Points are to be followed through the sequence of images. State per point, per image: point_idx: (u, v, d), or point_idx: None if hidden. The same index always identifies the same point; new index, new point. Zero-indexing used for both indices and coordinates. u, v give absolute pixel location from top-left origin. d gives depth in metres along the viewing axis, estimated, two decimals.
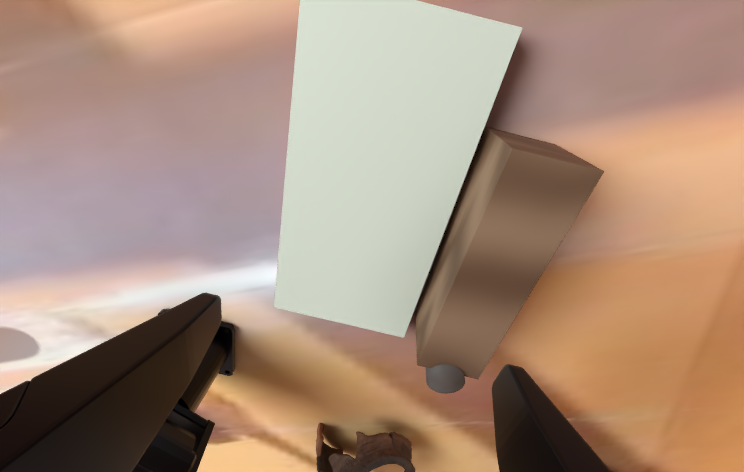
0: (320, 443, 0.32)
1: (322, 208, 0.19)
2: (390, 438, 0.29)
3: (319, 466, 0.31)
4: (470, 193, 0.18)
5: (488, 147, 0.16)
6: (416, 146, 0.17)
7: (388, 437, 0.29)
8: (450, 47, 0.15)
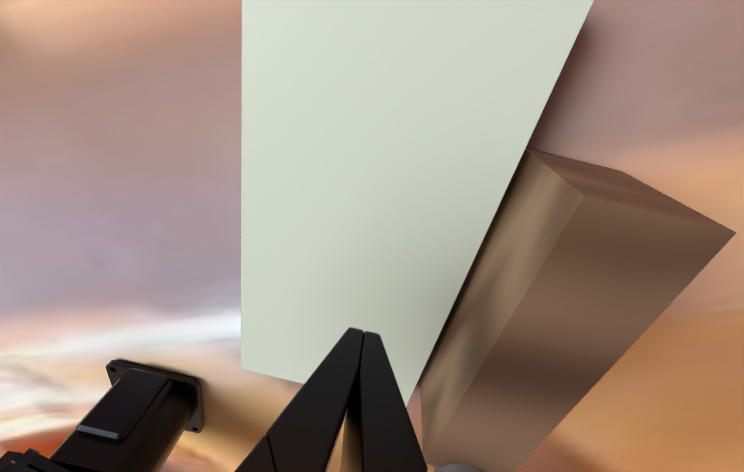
0: None
1: (294, 255, 0.14)
2: None
3: None
4: (499, 241, 0.12)
5: (529, 179, 0.11)
6: (423, 176, 0.12)
7: None
8: (477, 29, 0.09)
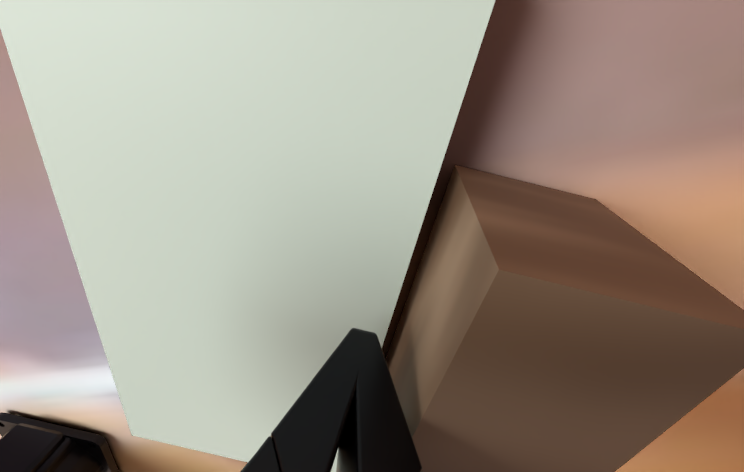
0: None
1: (157, 308, 0.11)
2: None
3: None
4: (421, 298, 0.09)
5: (453, 215, 0.07)
6: (302, 208, 0.08)
7: None
8: None
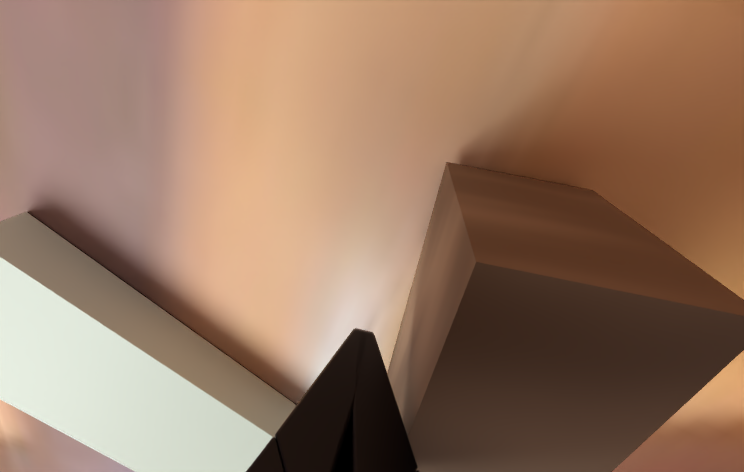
0: None
1: (157, 461, 0.16)
2: None
3: None
4: (419, 296, 0.09)
5: (444, 212, 0.07)
6: (102, 375, 0.13)
7: None
8: None
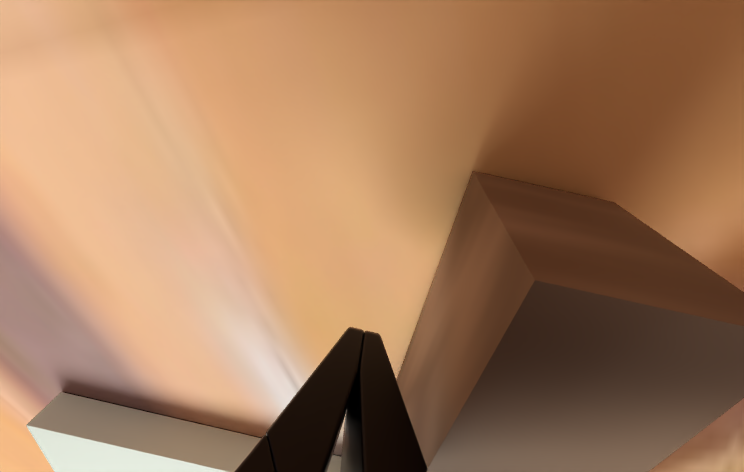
0: None
1: None
2: None
3: None
4: (443, 304, 0.09)
5: (475, 222, 0.08)
6: None
7: None
8: (68, 459, 0.17)
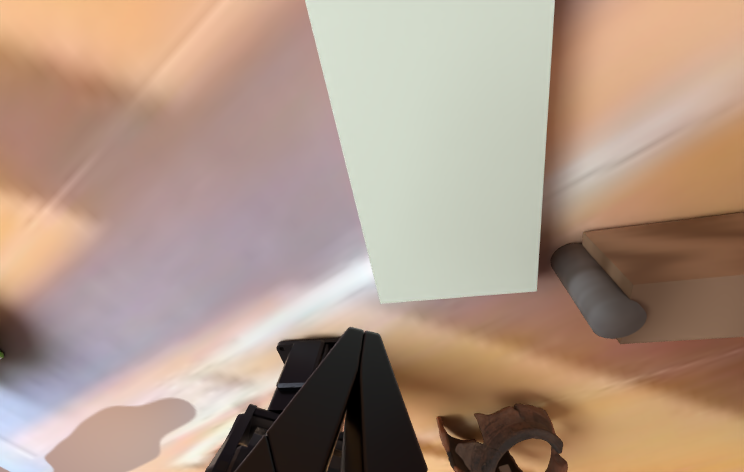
0: (444, 437, 0.29)
1: (393, 174, 0.17)
2: (516, 411, 0.25)
3: (452, 462, 0.28)
4: None
5: None
6: (476, 50, 0.14)
7: (513, 411, 0.25)
8: None
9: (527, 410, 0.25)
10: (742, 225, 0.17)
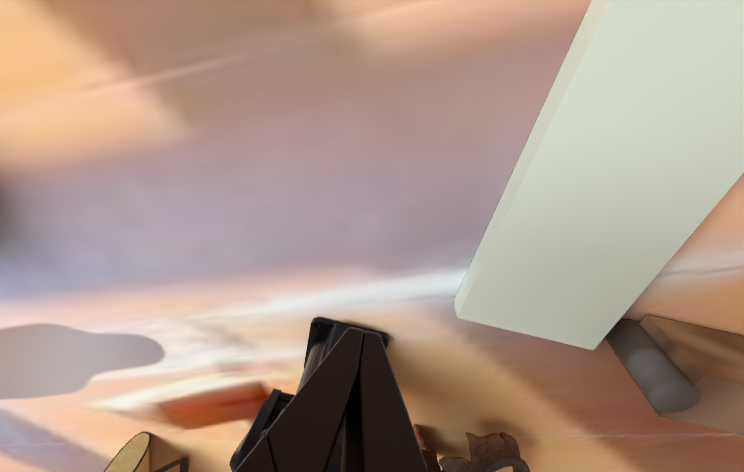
0: (421, 445, 0.30)
1: (553, 214, 0.18)
2: (502, 439, 0.28)
3: None
4: None
5: None
6: (692, 147, 0.15)
7: (500, 438, 0.27)
8: None
9: (509, 440, 0.28)
10: None
